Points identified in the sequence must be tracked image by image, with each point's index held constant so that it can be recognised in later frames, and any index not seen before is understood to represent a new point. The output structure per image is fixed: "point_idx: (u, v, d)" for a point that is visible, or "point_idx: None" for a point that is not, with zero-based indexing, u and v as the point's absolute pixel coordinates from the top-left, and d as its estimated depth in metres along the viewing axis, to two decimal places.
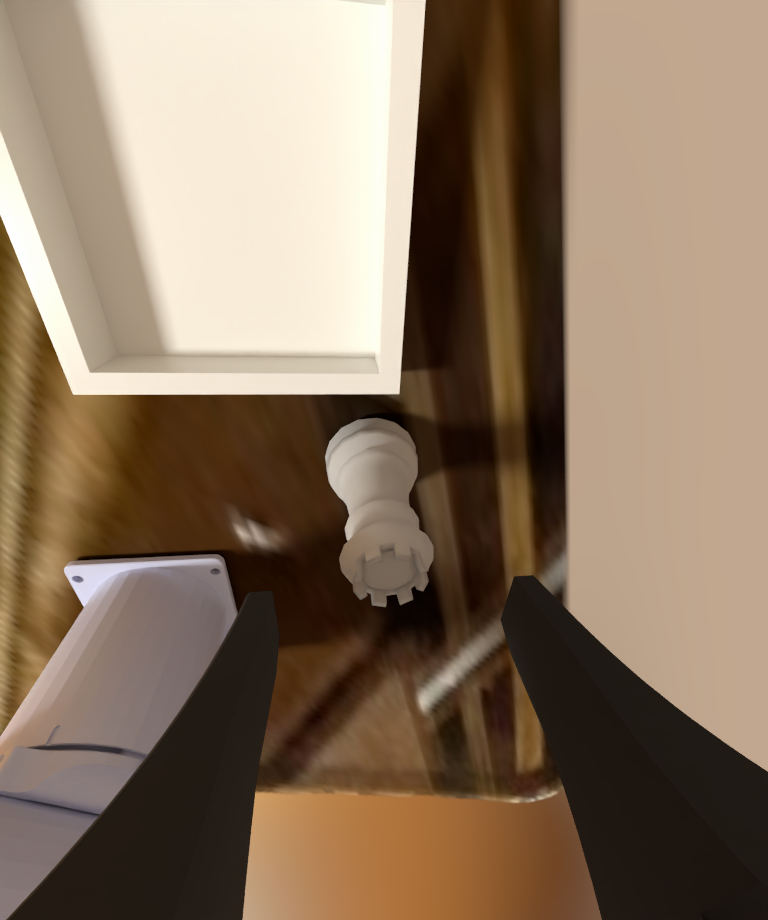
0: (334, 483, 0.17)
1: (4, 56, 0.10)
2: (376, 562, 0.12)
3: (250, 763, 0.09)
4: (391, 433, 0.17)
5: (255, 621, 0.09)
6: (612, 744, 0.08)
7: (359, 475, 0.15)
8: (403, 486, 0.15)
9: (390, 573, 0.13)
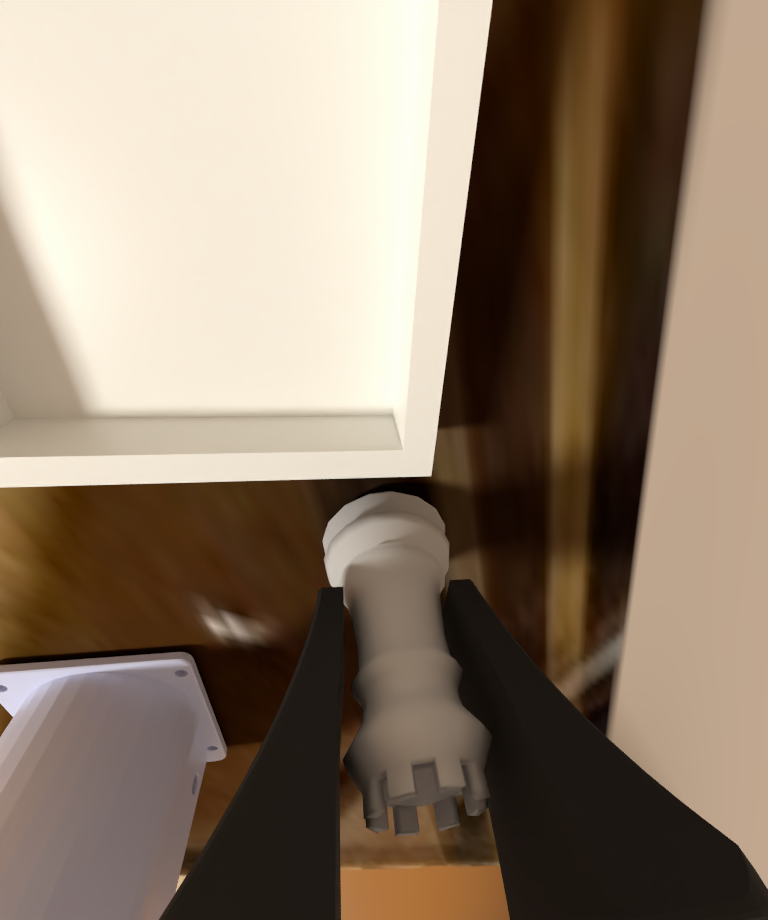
0: (335, 584, 0.13)
1: None
2: (406, 797, 0.07)
3: (338, 753, 0.09)
4: (415, 517, 0.12)
5: (335, 615, 0.10)
6: (518, 755, 0.07)
7: (371, 588, 0.11)
8: (435, 606, 0.11)
9: (426, 792, 0.08)
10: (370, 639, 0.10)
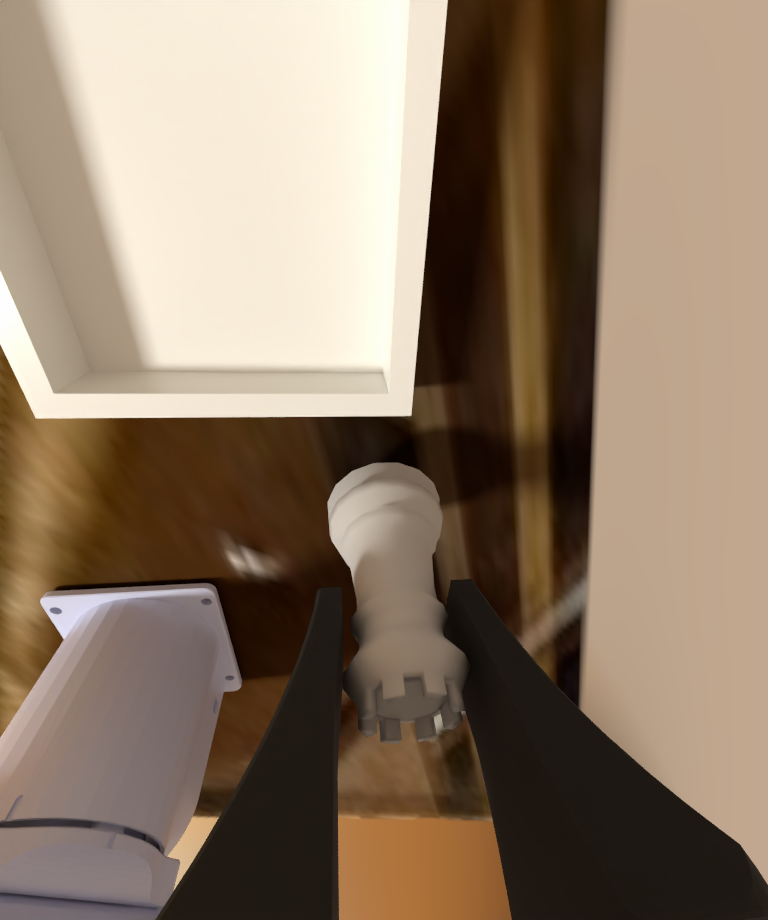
0: (337, 540, 0.14)
1: None
2: (397, 700, 0.08)
3: (336, 754, 0.09)
4: (415, 486, 0.13)
5: (334, 616, 0.10)
6: (520, 755, 0.07)
7: (373, 542, 0.12)
8: (428, 562, 0.12)
9: (411, 705, 0.09)
10: (370, 583, 0.11)
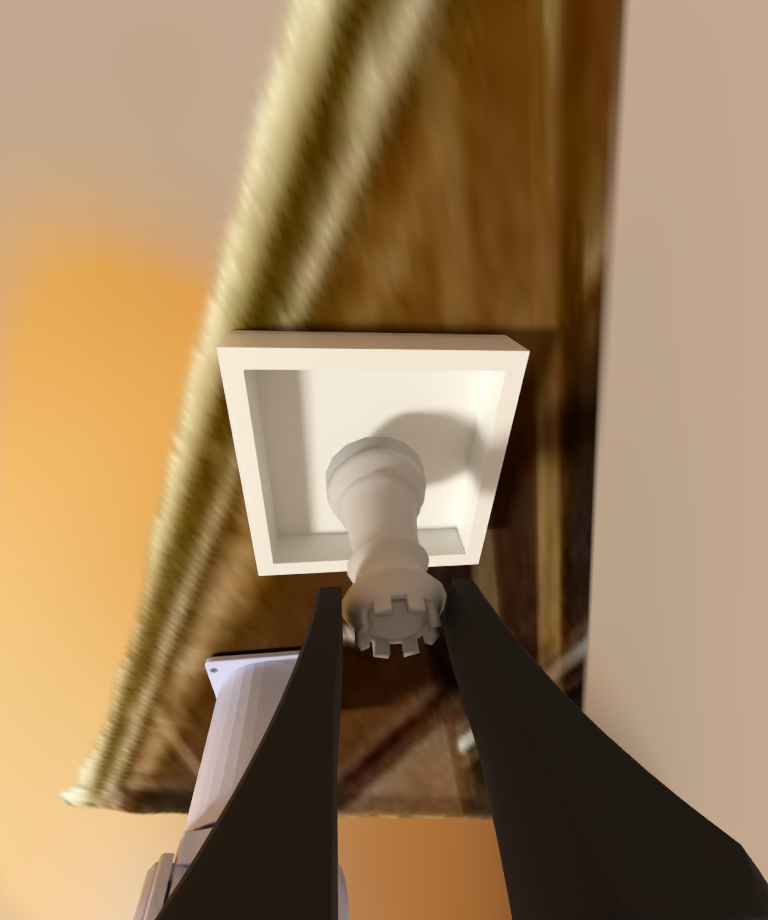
0: (334, 504, 0.16)
1: (256, 405, 0.16)
2: (386, 615, 0.10)
3: (336, 754, 0.09)
4: (402, 456, 0.15)
5: (333, 616, 0.10)
6: (520, 755, 0.07)
7: (365, 501, 0.14)
8: (413, 518, 0.14)
9: (398, 624, 0.11)
10: (363, 533, 0.13)
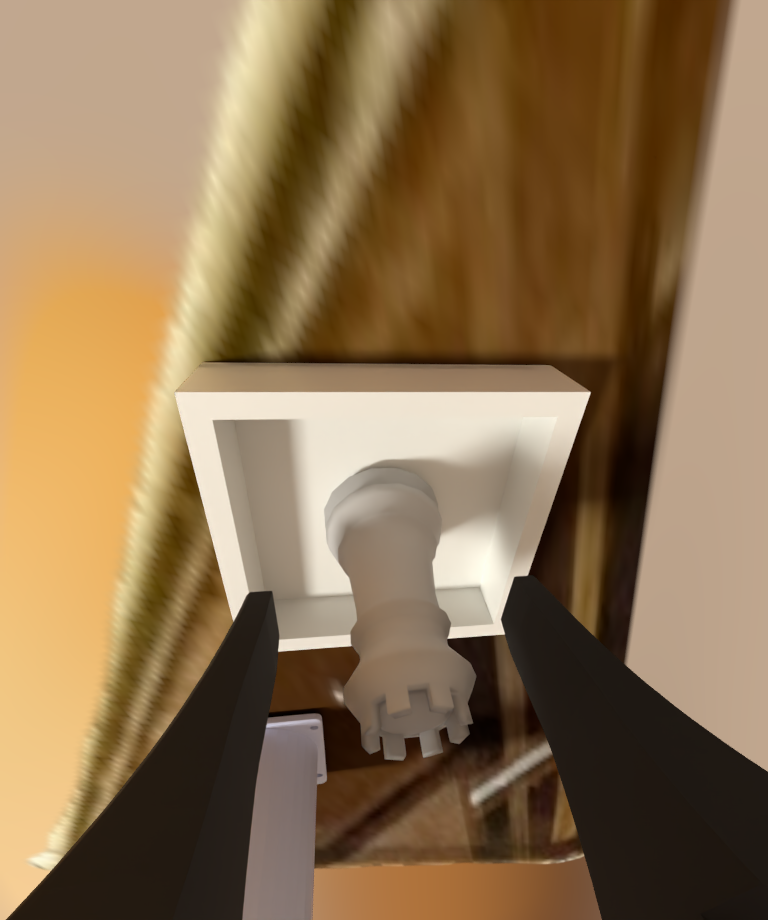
0: (334, 548, 0.13)
1: (234, 457, 0.13)
2: (402, 715, 0.08)
3: (250, 763, 0.09)
4: (414, 491, 0.13)
5: (256, 621, 0.09)
6: (612, 744, 0.08)
7: (372, 549, 0.12)
8: (429, 569, 0.12)
9: (416, 719, 0.09)
10: (370, 591, 0.11)
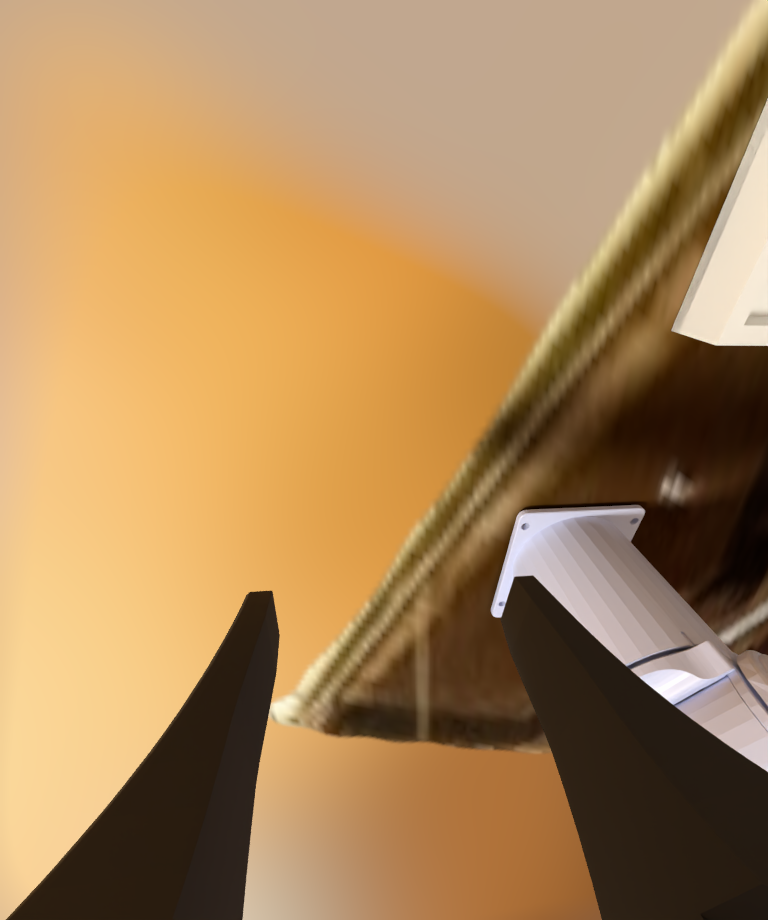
0: None
1: None
2: None
3: (250, 763, 0.09)
4: None
5: (256, 621, 0.09)
6: (612, 744, 0.08)
7: None
8: None
9: None
10: None
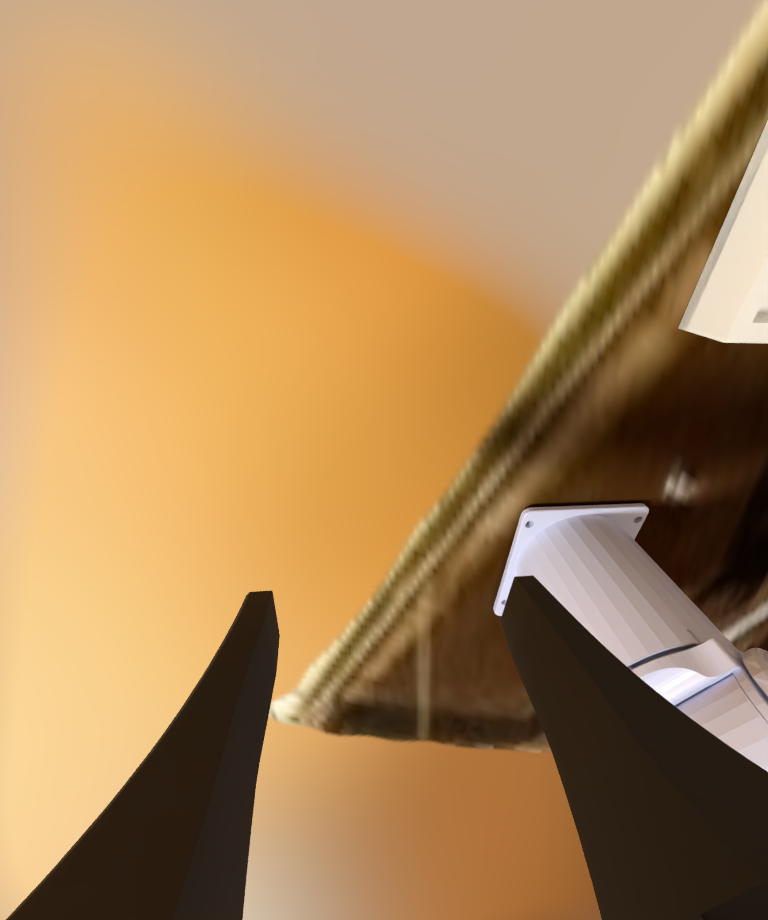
0: None
1: None
2: None
3: (250, 763, 0.09)
4: None
5: (256, 621, 0.09)
6: (612, 744, 0.08)
7: None
8: None
9: None
10: None
